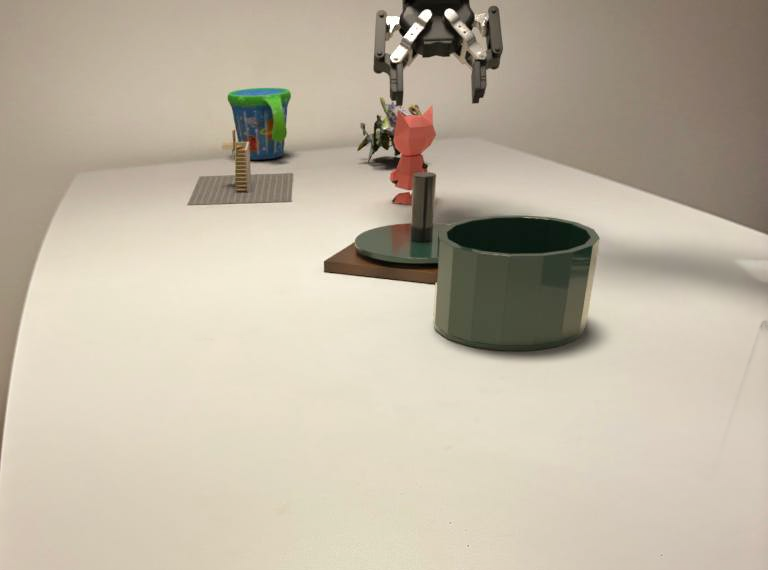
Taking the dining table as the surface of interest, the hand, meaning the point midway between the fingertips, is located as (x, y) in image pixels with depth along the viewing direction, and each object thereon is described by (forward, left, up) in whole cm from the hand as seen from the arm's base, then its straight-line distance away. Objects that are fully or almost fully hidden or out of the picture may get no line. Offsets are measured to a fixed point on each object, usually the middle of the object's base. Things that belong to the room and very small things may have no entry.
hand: (438, 99), depth 105 cm
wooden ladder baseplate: (+40, -24, -16) cm, 49 cm away
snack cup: (+49, -47, -16) cm, 70 cm away
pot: (-16, +22, -16) cm, 32 cm away
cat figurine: (+12, -24, -16) cm, 31 cm away
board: (0, +4, -16) cm, 17 cm away
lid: (0, +4, -14) cm, 15 cm away
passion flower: (+25, -48, -16) cm, 57 cm away
